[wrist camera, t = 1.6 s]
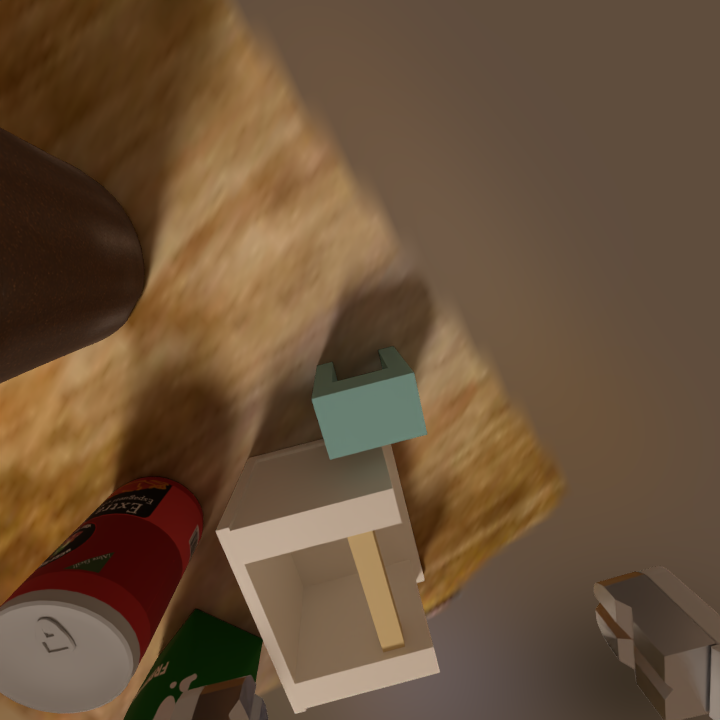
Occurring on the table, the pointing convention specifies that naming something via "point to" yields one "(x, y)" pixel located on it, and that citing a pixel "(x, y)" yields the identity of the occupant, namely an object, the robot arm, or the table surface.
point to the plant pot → (59, 259)
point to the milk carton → (195, 664)
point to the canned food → (98, 599)
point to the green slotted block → (368, 406)
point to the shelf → (329, 571)
